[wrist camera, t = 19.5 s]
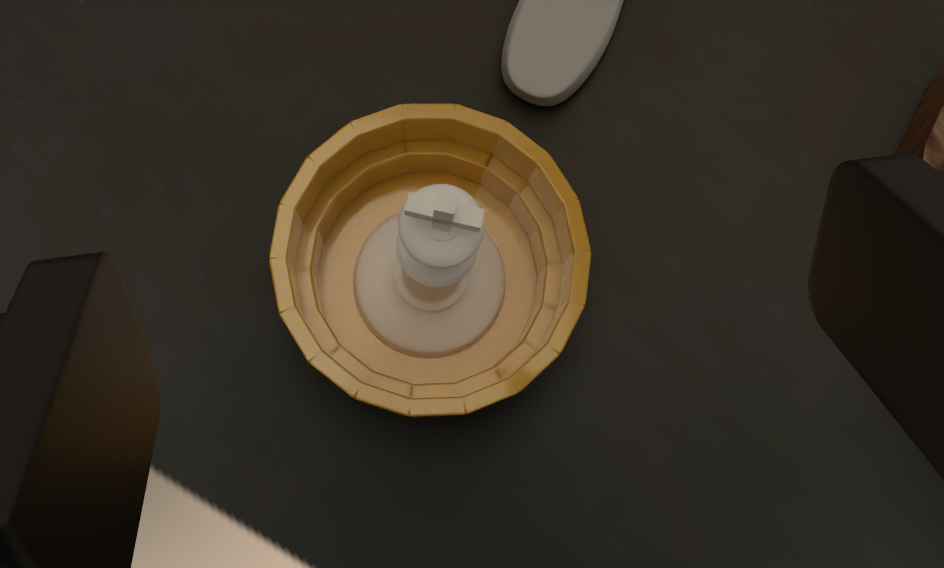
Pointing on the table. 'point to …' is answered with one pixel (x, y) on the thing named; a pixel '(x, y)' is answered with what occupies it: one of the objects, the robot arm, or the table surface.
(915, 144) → the trivet
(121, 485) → the robot arm
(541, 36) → the spoon
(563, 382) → the table surface
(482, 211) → the chess piece
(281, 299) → the bowl
